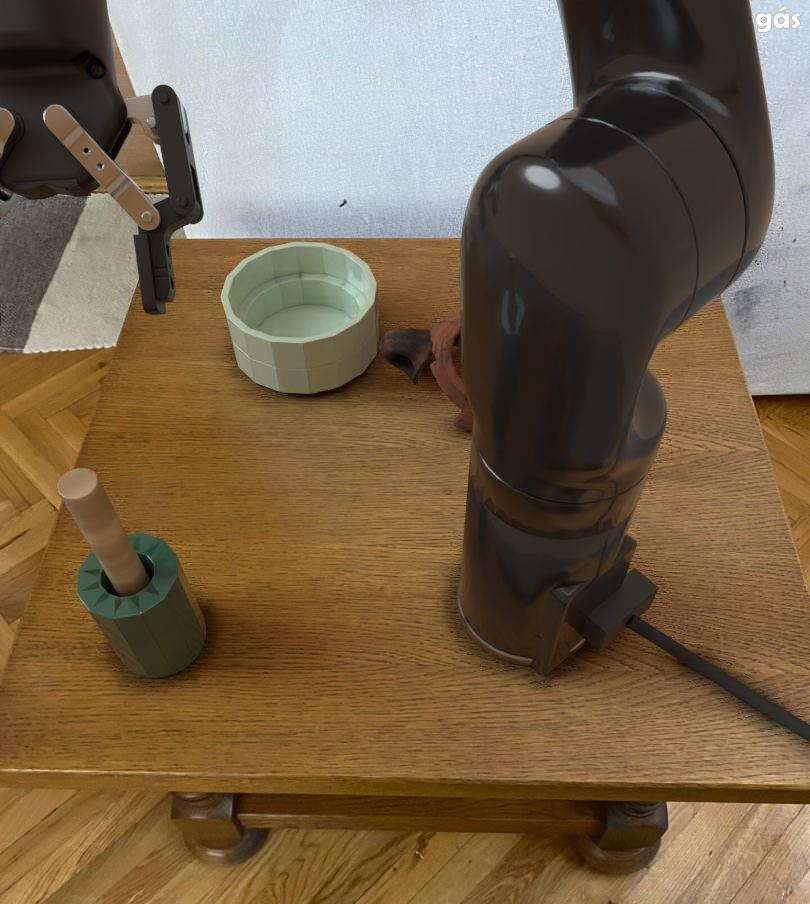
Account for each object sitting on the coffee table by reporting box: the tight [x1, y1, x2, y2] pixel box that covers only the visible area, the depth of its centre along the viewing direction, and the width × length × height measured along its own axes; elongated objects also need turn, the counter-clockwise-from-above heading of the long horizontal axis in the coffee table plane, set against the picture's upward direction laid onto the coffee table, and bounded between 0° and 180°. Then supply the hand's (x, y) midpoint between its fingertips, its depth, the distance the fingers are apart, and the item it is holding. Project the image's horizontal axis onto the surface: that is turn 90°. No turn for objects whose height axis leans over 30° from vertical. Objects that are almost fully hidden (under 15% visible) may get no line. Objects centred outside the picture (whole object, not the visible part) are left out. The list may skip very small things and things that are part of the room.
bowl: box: [220, 241, 380, 395], centre depth 67 cm, size 12×12×6 cm
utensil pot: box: [76, 531, 207, 679], centre depth 51 cm, size 6×6×8 cm
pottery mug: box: [378, 311, 474, 432], centre depth 65 cm, size 12×10×8 cm
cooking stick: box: [57, 467, 151, 597], centre depth 47 cm, size 2×2×16 cm
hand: (71, 319), depth 42 cm, fingers open, 8 cm apart
